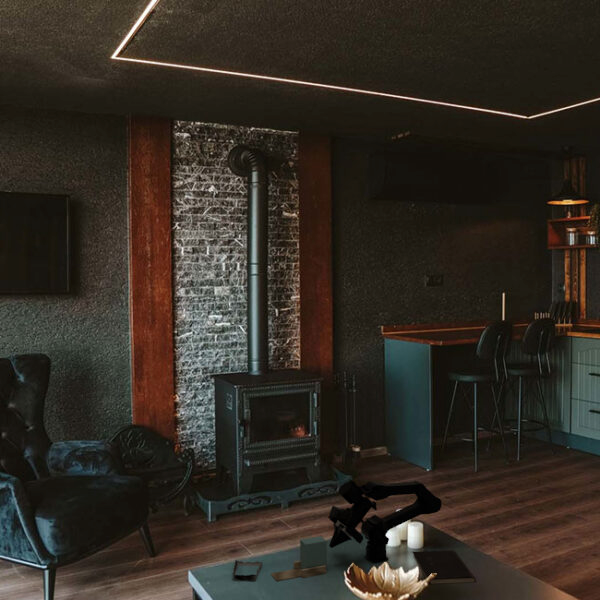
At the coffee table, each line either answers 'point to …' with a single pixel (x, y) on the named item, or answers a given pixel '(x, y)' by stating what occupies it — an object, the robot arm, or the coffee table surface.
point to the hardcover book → (443, 566)
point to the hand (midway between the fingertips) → (330, 547)
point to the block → (313, 552)
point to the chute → (299, 572)
